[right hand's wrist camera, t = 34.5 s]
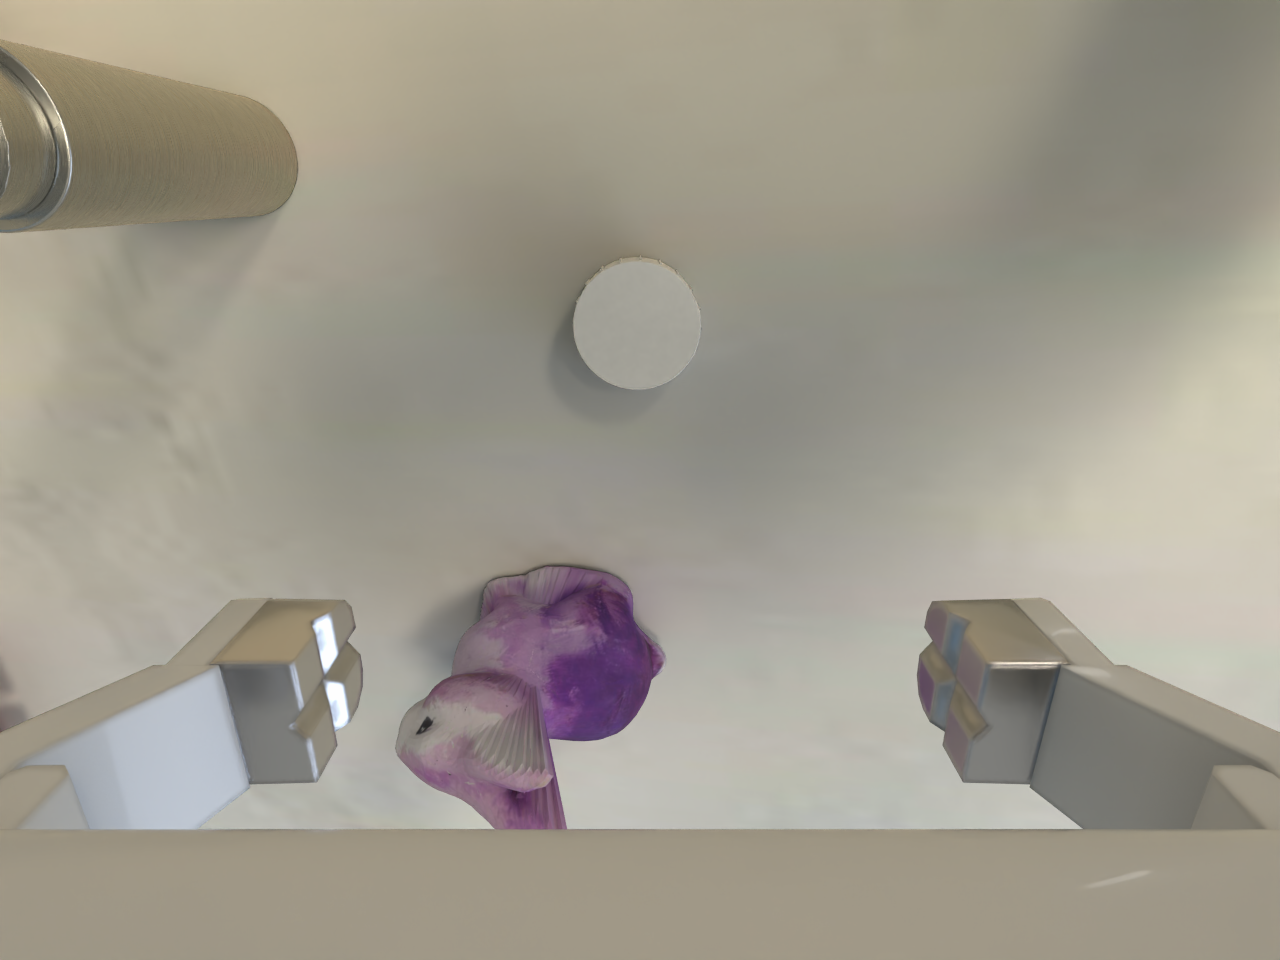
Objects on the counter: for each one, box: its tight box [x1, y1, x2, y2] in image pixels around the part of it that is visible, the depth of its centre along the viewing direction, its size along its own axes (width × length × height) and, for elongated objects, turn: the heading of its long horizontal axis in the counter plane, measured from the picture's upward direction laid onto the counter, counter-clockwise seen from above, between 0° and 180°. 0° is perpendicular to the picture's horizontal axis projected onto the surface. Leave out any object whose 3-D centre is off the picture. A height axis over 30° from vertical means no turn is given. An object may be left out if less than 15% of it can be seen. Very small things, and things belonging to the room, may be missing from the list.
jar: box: [0, 39, 297, 233], centre depth 25 cm, size 5×5×16 cm
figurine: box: [395, 566, 666, 829], centre depth 35 cm, size 9×10×15 cm
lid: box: [572, 255, 702, 390], centre depth 34 cm, size 6×6×2 cm
